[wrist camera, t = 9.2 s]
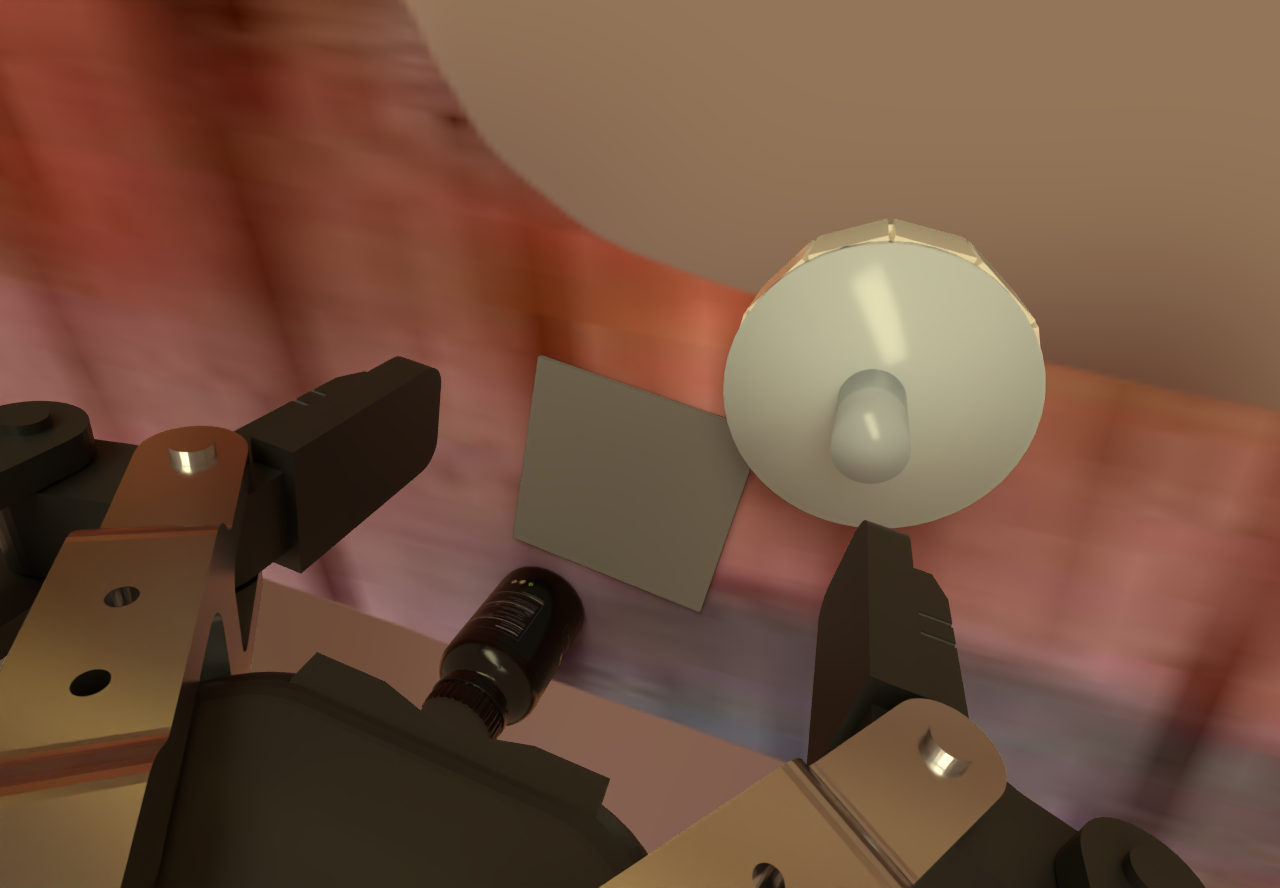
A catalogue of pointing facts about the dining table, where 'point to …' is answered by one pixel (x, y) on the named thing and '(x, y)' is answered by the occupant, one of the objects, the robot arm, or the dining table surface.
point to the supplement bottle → (505, 654)
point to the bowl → (893, 233)
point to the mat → (627, 482)
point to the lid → (884, 384)
